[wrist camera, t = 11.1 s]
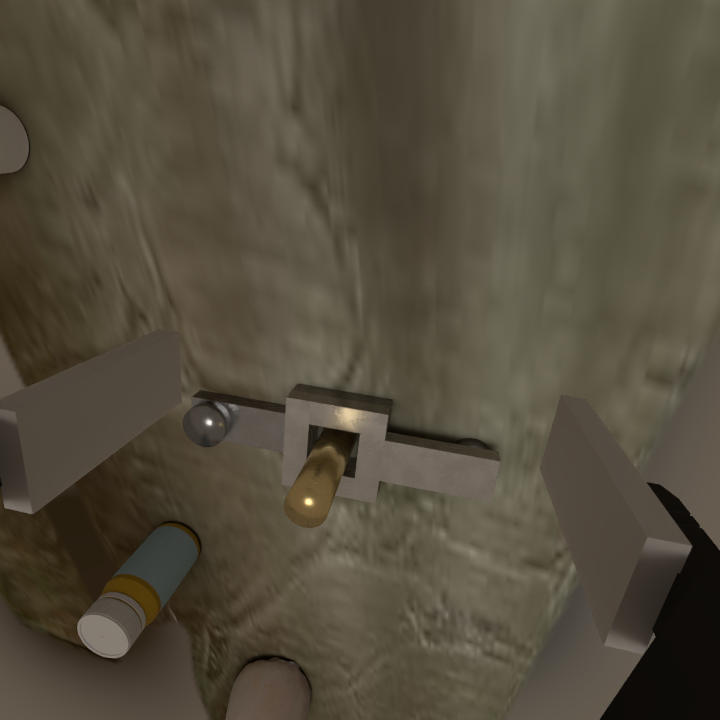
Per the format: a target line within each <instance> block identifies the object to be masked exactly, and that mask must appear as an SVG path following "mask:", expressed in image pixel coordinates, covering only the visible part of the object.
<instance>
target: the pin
mask: <svg viewBox="0 0 720 720" xmlns="http://www.w3.org/2000/svg"><path fill="white" fill-rule="evenodd" d="M356 437H357V435H356V433H354V432H349V431H343V430H338V429H332V428H327V427H324V429H323V431H322V433H321V434H320V436H319V438H318V440H317V442H316V444H315V445H314V447H313V449H312V451H311V453H310V455H309V456H308V458H307V460H306V462H305V464H304V466H303V467H302V469H301V471H300V473H299V475H298V477H297V478H296V480H295V482H294V484H293V486H292V488H291V489H290V491H289V493H288V495H287V497H286V499H285V502H284V509H285V512H286V514H287V516H288V517H289V519H290V520H291V521H293V522H294V523H295V524H297V525H299V526H302V527H306V528H313V527H317V526H319V525H321V524H322V523H323V522H324V521H325V520H326V518H327V515H328V513H329V510H330V507H331V505H332V502H333V499H334V497H335V494H336V492H337V489H338V486H339V484H340V481H341V478H342V476H343V473H344V470H345V468H346V465H347V463H348V460H349V457H350V455H351V452H352V449H353V447H354V444H355V441H356Z"/></svg>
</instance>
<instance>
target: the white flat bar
mask: <svg viewBox="0 0 720 720" xmlns="http://www.w3.org/2000/svg"><path fill="white" fill-rule="evenodd" d="M391 407H392V400H391V399H385V398H379V397H373V396H367V395H361V394H355V393H350V392H344V391H338V390H332V389H326V388H320V387H314V386H308V385H302V384H297V385H296V386H295V387H294V389H293V390H292V391H291V392H290V393H289V395H288V396H287V397H286V405H280V404H275V403H269V402H263V401H258V400H252V399H246V398H241V397H235V396H229V395H224V394H218V393H212V392H207V391H201V390H200V391H199V392H197V393H196V394H195V395H193V396H192V408H191V409H190V410H189V411H188V412H187V413H186V414H185V416H184V418H183V428H184V431H185V433H186V435H187V436H188V438H189V439H190V440H191V441H192V442H194V443H195V444H197V445H199V446H202V447H213V446H215V445H217V444H219V443H220V442H221V441H228V442H233V443H238V444H243V445H249V446H254V447H259V448H264V449H269V450H275V451H280V452H283V465H282V483H281V485H286V486H290V487H292V486H293V484H294V482H295V480H296V478H297V477H298V475H299V473H300V471H301V469H302V467H303V466H304V464H305V462H306V460H307V458H308V456H309V455H310V453H311V451H312V449H313V447H314V445H315V444H316V435H317V426H321V427H327V428H332V429H338V430H343V431H349V432H354V433H360V438H359V446H358V455H357V459H355V458H350V457H349V460H348V463H347V465H346V468H345V470H344V473H343V476H342V478H341V481H340V484H339V486H338V489H337V492H336V494H335V496H340V497H345V498H350V499H355V500H360V501H365V502H370V503H375V504H376V501H377V497H378V492H379V488H380V484H381V481H383V482H388V483H393V484H398V485H403V486H409V487H414V488H419V489H424V490H429V491H434V492H440V493H445V494H450V495H455V496H460V497H465V498H471V499H476V500H481V501H486V502H491V500H492V496H493V492H494V488H495V484H496V479H497V475H498V471H499V467H500V463H501V460H500V456H499V452H497V451H491V450H490V449H489V447H488V446H487V445H486V444H485V443H483V442H482V441H480V440H477V439H472V438H466V439H461V440H459V441H457V442H455V443H454V444H452V443H447V442H441V441H435V440H430V439H424V438H419V437H413V436H407V435H402V434H396V433H391V432H388V428H389V421H390V414H391Z"/></svg>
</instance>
